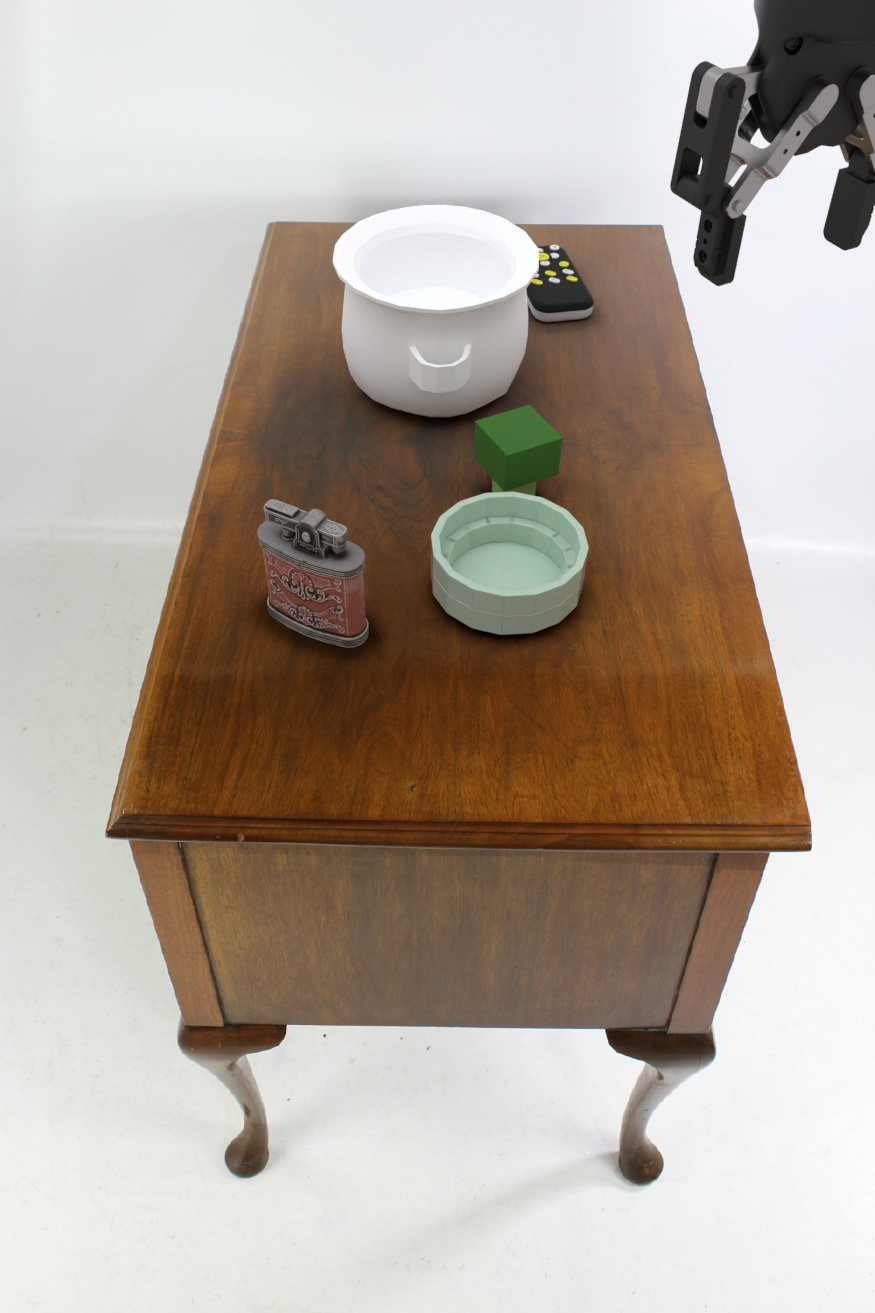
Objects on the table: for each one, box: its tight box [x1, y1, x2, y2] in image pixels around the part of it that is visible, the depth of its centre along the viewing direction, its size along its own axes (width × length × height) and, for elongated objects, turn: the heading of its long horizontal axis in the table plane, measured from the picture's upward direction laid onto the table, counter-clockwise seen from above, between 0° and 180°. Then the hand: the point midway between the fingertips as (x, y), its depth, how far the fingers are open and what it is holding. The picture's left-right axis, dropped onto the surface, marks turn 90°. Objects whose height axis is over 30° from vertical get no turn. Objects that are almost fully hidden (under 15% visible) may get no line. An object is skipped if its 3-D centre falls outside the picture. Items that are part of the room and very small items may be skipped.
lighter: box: [256, 498, 370, 649], centre depth 74 cm, size 8×3×10 cm, turn 62°
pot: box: [332, 204, 539, 418], centre depth 94 cm, size 22×17×12 cm
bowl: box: [429, 491, 590, 636], centre depth 78 cm, size 11×11×4 cm
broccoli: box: [473, 404, 563, 496], centre depth 85 cm, size 5×5×6 cm
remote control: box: [526, 244, 595, 323], centre depth 109 cm, size 6×13×2 cm, turn 11°
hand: (778, 260), depth 57 cm, fingers open, 8 cm apart
